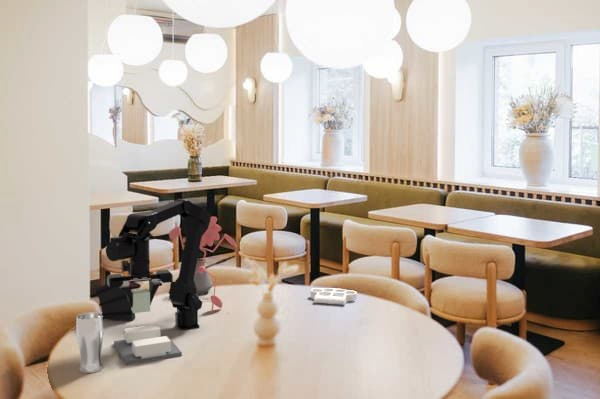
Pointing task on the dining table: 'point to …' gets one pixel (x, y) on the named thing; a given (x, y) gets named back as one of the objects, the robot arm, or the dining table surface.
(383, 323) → the dining table surface
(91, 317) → the beer glass
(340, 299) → the white holed tray
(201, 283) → the coffee pot
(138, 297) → the block
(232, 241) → the figurine
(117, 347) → the rail panel
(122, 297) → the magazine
